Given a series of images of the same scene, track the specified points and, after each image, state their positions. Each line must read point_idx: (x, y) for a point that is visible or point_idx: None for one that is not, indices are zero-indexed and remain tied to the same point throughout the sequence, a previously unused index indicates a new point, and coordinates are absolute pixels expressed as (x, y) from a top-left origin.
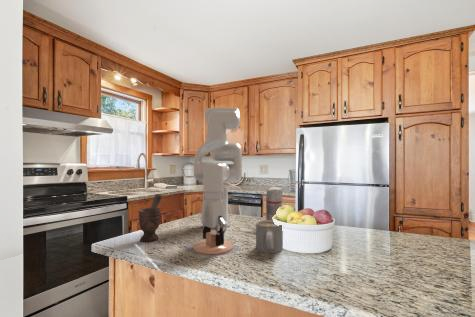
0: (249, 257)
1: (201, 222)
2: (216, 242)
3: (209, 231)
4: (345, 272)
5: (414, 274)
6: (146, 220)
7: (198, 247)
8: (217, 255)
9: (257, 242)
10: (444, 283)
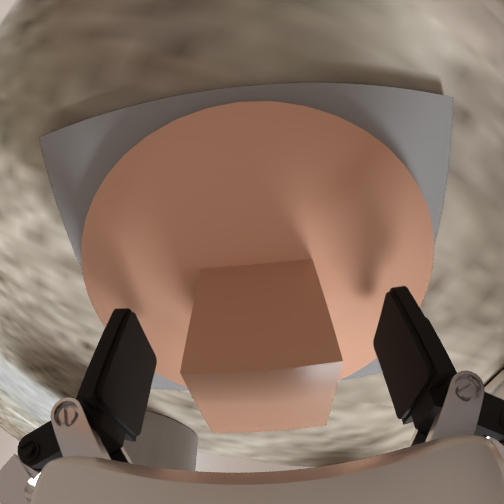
0: (70, 361)
1: (485, 446)
2: (106, 330)
3: (393, 385)
4: (9, 409)
5: (22, 435)
6: None
7: (265, 158)
8: (77, 252)
9: (129, 442)
10: (6, 428)
